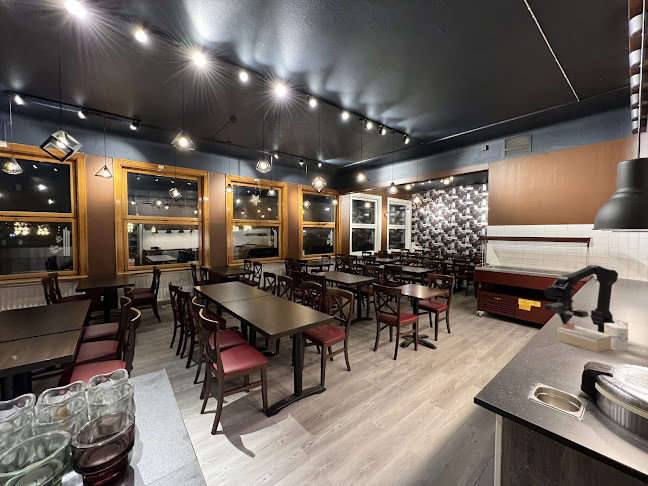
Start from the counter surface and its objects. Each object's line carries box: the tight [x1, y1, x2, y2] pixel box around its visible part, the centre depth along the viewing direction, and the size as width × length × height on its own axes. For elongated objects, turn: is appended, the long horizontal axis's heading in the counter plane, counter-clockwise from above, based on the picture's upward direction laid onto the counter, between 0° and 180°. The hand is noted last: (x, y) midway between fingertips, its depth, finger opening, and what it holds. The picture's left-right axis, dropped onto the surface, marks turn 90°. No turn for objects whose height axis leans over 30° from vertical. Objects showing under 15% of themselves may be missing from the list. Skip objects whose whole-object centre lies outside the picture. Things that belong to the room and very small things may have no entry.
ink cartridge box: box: [604, 317, 629, 352], centre depth 140 cm, size 9×5×15 cm, turn 168°
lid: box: [556, 322, 612, 343], centre depth 145 cm, size 14×17×4 cm
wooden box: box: [557, 331, 612, 353], centre depth 145 cm, size 12×17×6 cm
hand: (564, 325), depth 153 cm, fingers closed
